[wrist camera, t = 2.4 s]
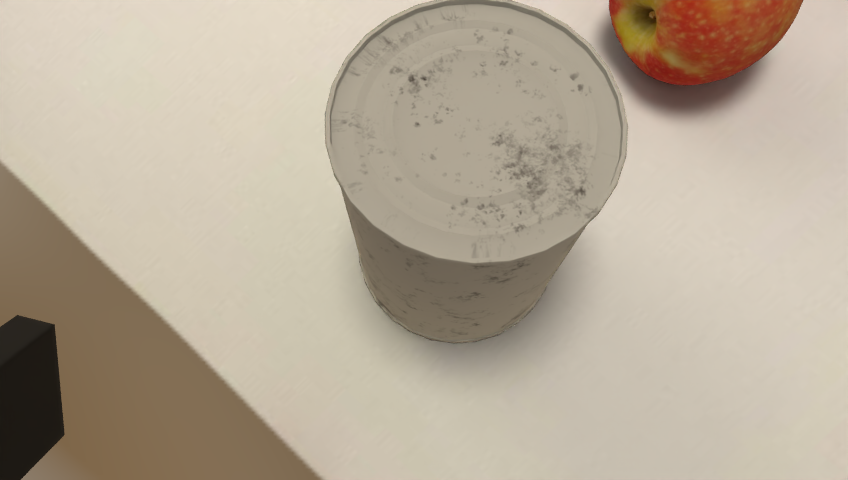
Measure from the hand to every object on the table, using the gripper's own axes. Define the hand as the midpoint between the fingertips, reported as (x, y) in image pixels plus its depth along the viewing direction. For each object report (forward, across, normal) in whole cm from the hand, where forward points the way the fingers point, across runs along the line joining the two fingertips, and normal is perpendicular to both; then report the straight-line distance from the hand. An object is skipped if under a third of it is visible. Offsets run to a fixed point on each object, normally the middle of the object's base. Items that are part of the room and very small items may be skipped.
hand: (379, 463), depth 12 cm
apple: (+30, +9, +5) cm, 32 cm away
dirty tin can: (+20, 0, -5) cm, 21 cm away
